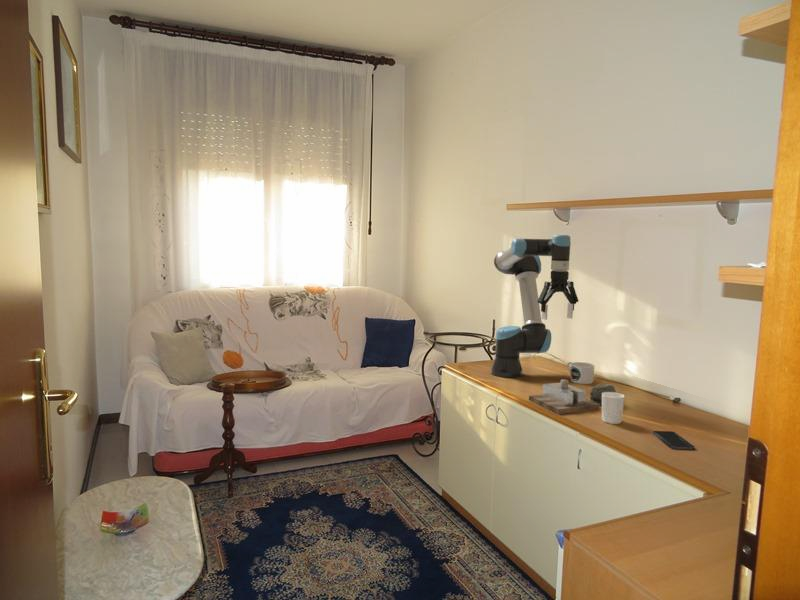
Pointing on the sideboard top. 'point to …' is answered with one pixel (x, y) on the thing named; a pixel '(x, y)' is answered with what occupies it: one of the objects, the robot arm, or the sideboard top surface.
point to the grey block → (564, 394)
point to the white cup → (612, 407)
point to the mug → (581, 372)
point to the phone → (673, 440)
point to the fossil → (600, 392)
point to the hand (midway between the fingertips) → (557, 318)
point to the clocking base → (563, 409)
